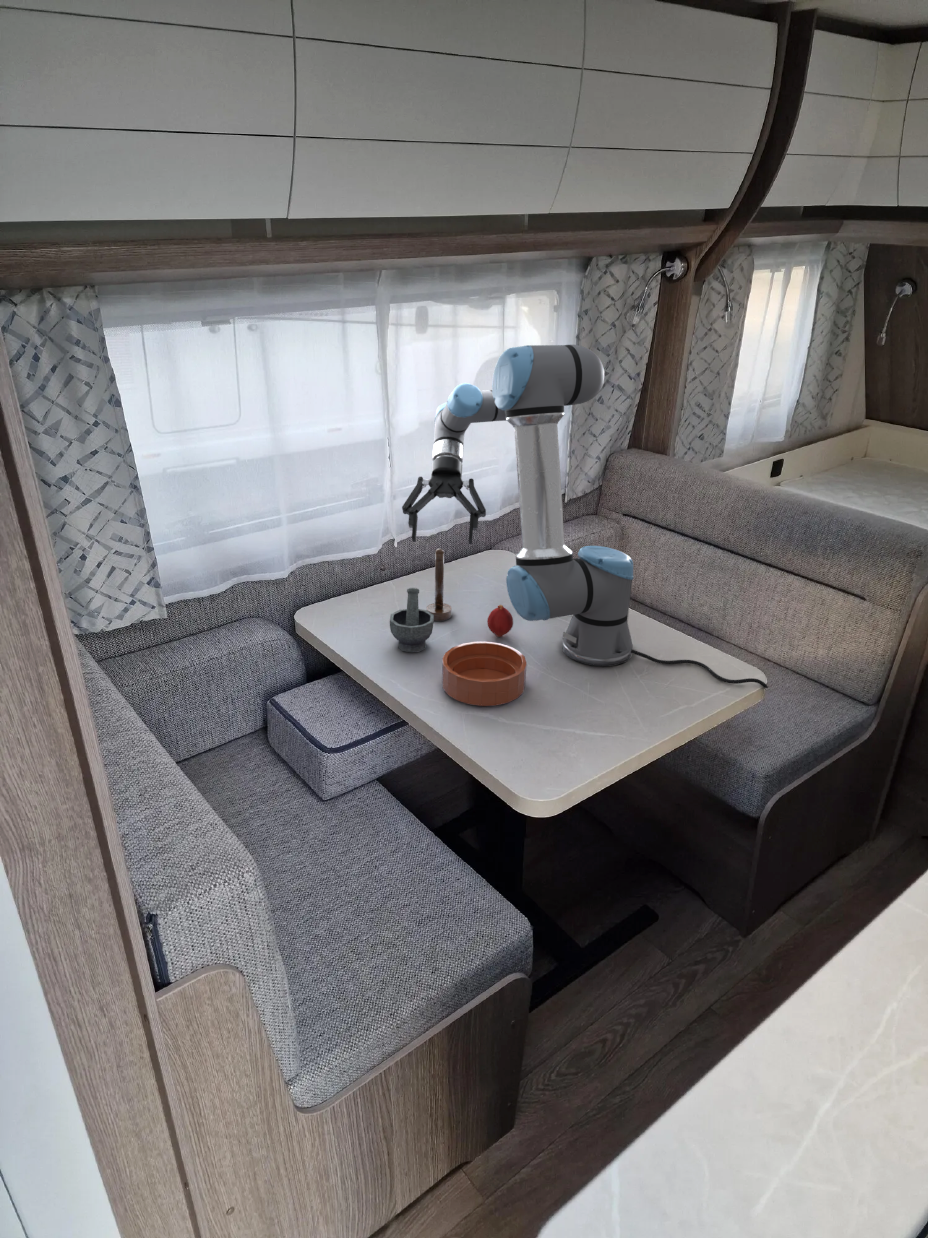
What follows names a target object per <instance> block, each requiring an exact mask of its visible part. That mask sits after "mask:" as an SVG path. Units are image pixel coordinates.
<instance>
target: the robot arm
mask: <svg viewBox="0 0 928 1238" xmlns="http://www.w3.org/2000/svg"><path fill="white" fill-rule="evenodd" d="M604 383H605V369H604V365H603V363H602V360H601V359H600V357H599V355H597V354H596V353H595V352H594V351H593V350H591V349H590V348H587V347H585V346H582V345H578V344H549V345H548V344H545V345H544V344H543V345H541V344H538V345H537V344H536V345H535V344H534V345H533V344H531V345H521V346H520V345H519V346H513V347H509V348H507V349H505V350H504V351H503V352H502V353H501V354H500V356H499V357H498V359H497V362H496V364H495V367H494V370H493V373H492V385H491V389H483V390H480V388H479V387H478V386H476V385H475V384H471V383H468V382H462V383H460V384H458V385H456V386H455V387H454V388H453V390H452V391H451V393H450V394H449V396H447V397H448V398H447V401H446V402H444V403H442V404H439V406H438V407H437V408H436V411H435V417H434V435H433V445H432V446H433V447H432V459H431V460H432V463H431V471H430V472H431V475H430V478H429V479H427V478H424V477H423V476H418V477H417V482H416V485H415V486H414V488H413V489H412V491H411V493H410V494H409V495H408V497H407V498H406V500H405V502H404V503H403V504H402V506H401V509H402V514H404V515H408V521H407V523H408V527H409V528H410V529H412V530H411V541H412V542H413V543H416V542H417V533H418V532H417V530H418V518H419V517H418V513H419V512H421V511H422V509H424V508H425V507H426V506H427V505H428V504H429V503H430V502H431V501H432V500H434V499H435V498H439V499H443V498H447V499H452V498H455V499H456V500H457V501H458V502H459V503H460V504H461V505H462V506H463V508H464V509H465V510H466V511H467V512H468V514H469V529H468V530H469V531H468V545H473V538H474V537H473V536H474V535H473V534H474V531H478V529H479V519H480V518H485V517H486V515H487V512H486V511H487V509H486V508H485V505H484V503H483V501H482V499H481V497H480V495H479V494H478V492H477V490H476V487H475V480H474V478H472V477H471V478H469V479H468V480H463V460H464V443H465V433H466V431H467V429H469V426H470V425H471V424H475V423H476V424H477V423H490V422H504V421H505V422H506V421H507V422H508V423H509V424H510V425H511V426H512V428H513V431H514V433H513V434H514V446H515V459H516V461H515V462H516V477H517V489H518V502H519V519H520V531H521V534H520V535H521V549H519V551H517V554H515V565H513V566H511V567H510V568H509V569H508V571H507V576H506V579H505V580H506V581H505V582H506V589H507V594H508V598H509V600H510V603H511V605H512V607H513V609H514V610H515V613H517V614H518V615H519V617H521V618H522V619H523V620H525V621H527V622H528V621H529V622H536V621H548V620H551V619H556V618H557V619H558V618H563V617H568V616H572V617H571V620H570V621H569V623H568V626H567V628H566V630H565V631H563V633H562V645H561V649H562V651H563V653H564V654H565V655H566V656H567V657H568V658H570V659H571V660H573V661H575V662H577V663H581V664H584V665H588V666H594V667H612V666H617V665H622V664H623V663H626V662H627V661H629V660H630V659H631V657H632V656H633V655H636V656H639V657H642V658H644V659H647V660H649V661H651V662H653V663H656V664H662V665H679V664H689V665H696V666H698V667H701V668H703V669H704V670H705V671H706V672H708V673H709V674H710V675H711V676H712V677H714V678H715V679H717V680H718V681H720V682H723V683H725V684H733V685H734V684H735V685H738V684H747V683H756V684H759V685H760V686H762V687H763V688H765V689H768V688H769V686H768V685H767V684H766V683H765V682H764V681H763V680H760V679H759V678H755V677H753V678H752V677H751V678H750V677H749V678H740V679H729V678H726V677H723V676H720V675H719V674H718V673H716V672H715V671H714V670H713V669H711V667H709V666H708V665H706V664H705V663H703V662H701V661H697V660H693V659H674V660H673V659H672V660H665V659H664V660H663V659H659V658H655V657H653V656H651V655H648V654H646V653H644V652H641V651H639V650H636V649H633V648H634V645H633V640H632V635H631V632H630V627H629V623H628V619H629V618H628V617H629V610H630V609H629V608H630V603H631V594H632V587H633V586H632V584H633V580H634V561H633V559H632V558H631V556H630V555H628V554H627V553H625V552H623V551H621V550H618V549H615V548H612V547H607V546H602V545H585V546H582V547H580V549H579V551H578V552H577V557H575V558H574V557H573V550H571V549H570V548H569V547H568V546H567V545H566V544H565V529H564V528H565V527H564V513H563V495H562V478H561V463H560V462H561V461H560V445H559V430H558V429H559V428H558V424H559V422H560V421H561V420H562V419H563V417H564V416H565V407H567V406H575V405H581V404H585V403H587V402H590V401H592V400H593V399H594V398H595V397H596V396H598V395H599V393H600V391H601V390H602V388H603V385H604ZM427 486H429V489H428V490H427V492H426V493H425V494H424V495H423V496H422V497H421V498H419V496H420V495H421V493H422V491H423V489H425V488H426V487H427ZM463 487H464V488H465V489H466V490H467V491H469V494H470V496H471V499H472V501H473V503H474V504H472V503H471V502H470V500H469V499H468V498H467V496H465V495H464V493H463V492H462V489H463ZM418 498H419V499H418ZM417 499H418V500H417ZM474 505H475V506H476V507H475V506H474Z"/></svg>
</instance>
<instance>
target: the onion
mask: <svg viewBox="0 0 928 1238" xmlns="http://www.w3.org/2000/svg"><path fill="white" fill-rule="evenodd" d="M486 624H487V627H488V629H489V630H490V632H492V633H493V634H494V635H495V636H496V637H498V638H502V637H503V636H505V635H507V634H508V633H509V632H510V631H511V630H512V628H513V626H514V618H513V615H512V613H511V612H510V611H509V610H508V608H506V607H504V605H502V604H498V605H497V607H496V608H494V609H492V610H491V611H490V613H489V614H488V616H487V623H486Z"/></svg>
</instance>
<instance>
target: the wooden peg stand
mask: <svg viewBox="0 0 928 1238" xmlns="http://www.w3.org/2000/svg"><path fill="white" fill-rule="evenodd" d="M444 573H445V551H444V549H443V548H440V547H439V548H437V549H435V552H434V603H430V604H428V605H427V606H426V607H425V608H426V609H425V610H426V611H428V612H429V613H431V614H433V615H434V622H442V621H443V622H445V621H448V620H450V619H451V618H452V616H453V615H452V614H453V613H452V612H453V607H452V606H451V605H450V604H448V603H445V602H444V591H445V589H444V582H445V580H444V579H445V578H444V577H445V574H444Z"/></svg>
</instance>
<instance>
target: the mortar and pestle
mask: <svg viewBox="0 0 928 1238" xmlns="http://www.w3.org/2000/svg"><path fill="white" fill-rule="evenodd" d="M406 593H407V602H406V608H402V609H399V610H396V611H395V612H393V613H390V616H389V629H390V633H391V634H392V636H393V637H394V639H396V640H397V641H398V644H397V648H398V649H399V650H401V651H402V652H406V653H417V652H422V651H423V650H424V649H426V645H427V642H426V641H427V640H429V638H431V635H432V634H433V629H434V622H435V621H434V615H433V614H431V613H429V612H428V611H426V609H421V608H420V607H419V594H420V589H419V588H417V587H408V588H407V589H406Z"/></svg>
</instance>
